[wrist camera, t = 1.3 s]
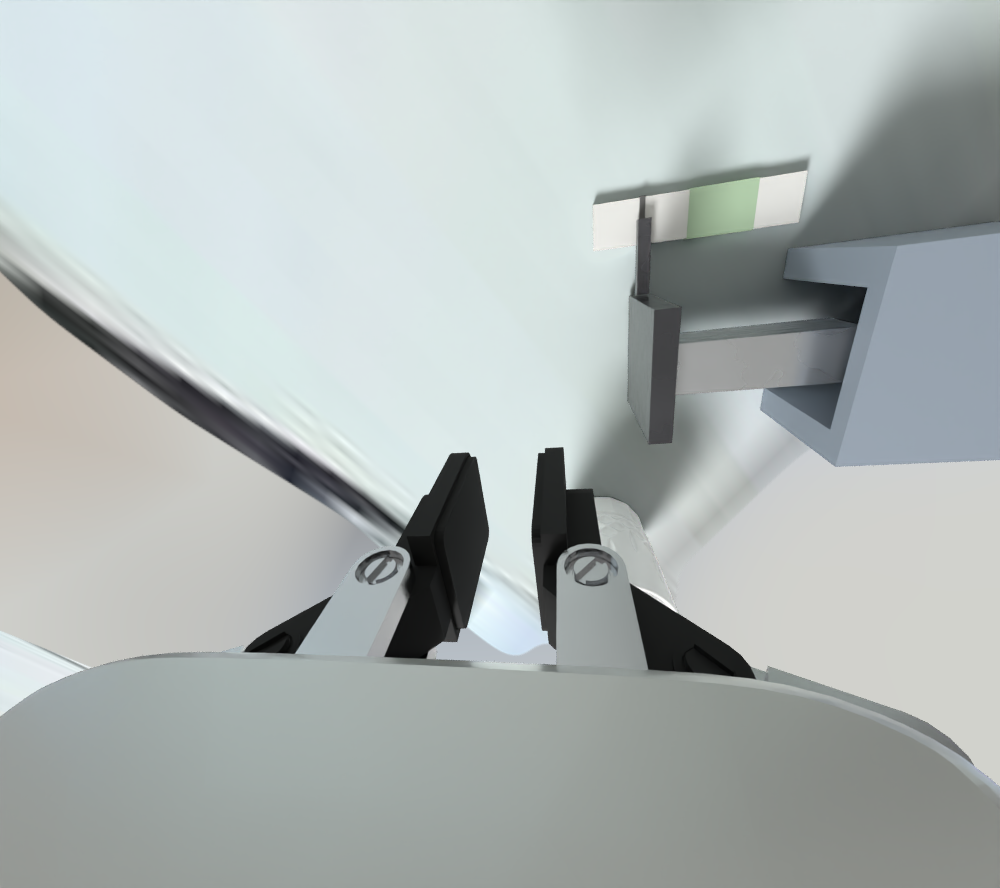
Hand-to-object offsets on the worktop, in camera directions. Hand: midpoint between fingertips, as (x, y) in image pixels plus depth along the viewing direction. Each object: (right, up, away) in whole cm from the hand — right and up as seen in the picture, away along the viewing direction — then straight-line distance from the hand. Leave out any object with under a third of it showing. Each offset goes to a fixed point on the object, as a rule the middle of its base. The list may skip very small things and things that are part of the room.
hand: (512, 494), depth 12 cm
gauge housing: (+16, +10, +12) cm, 22 cm away
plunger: (+13, +10, +12) cm, 20 cm away
